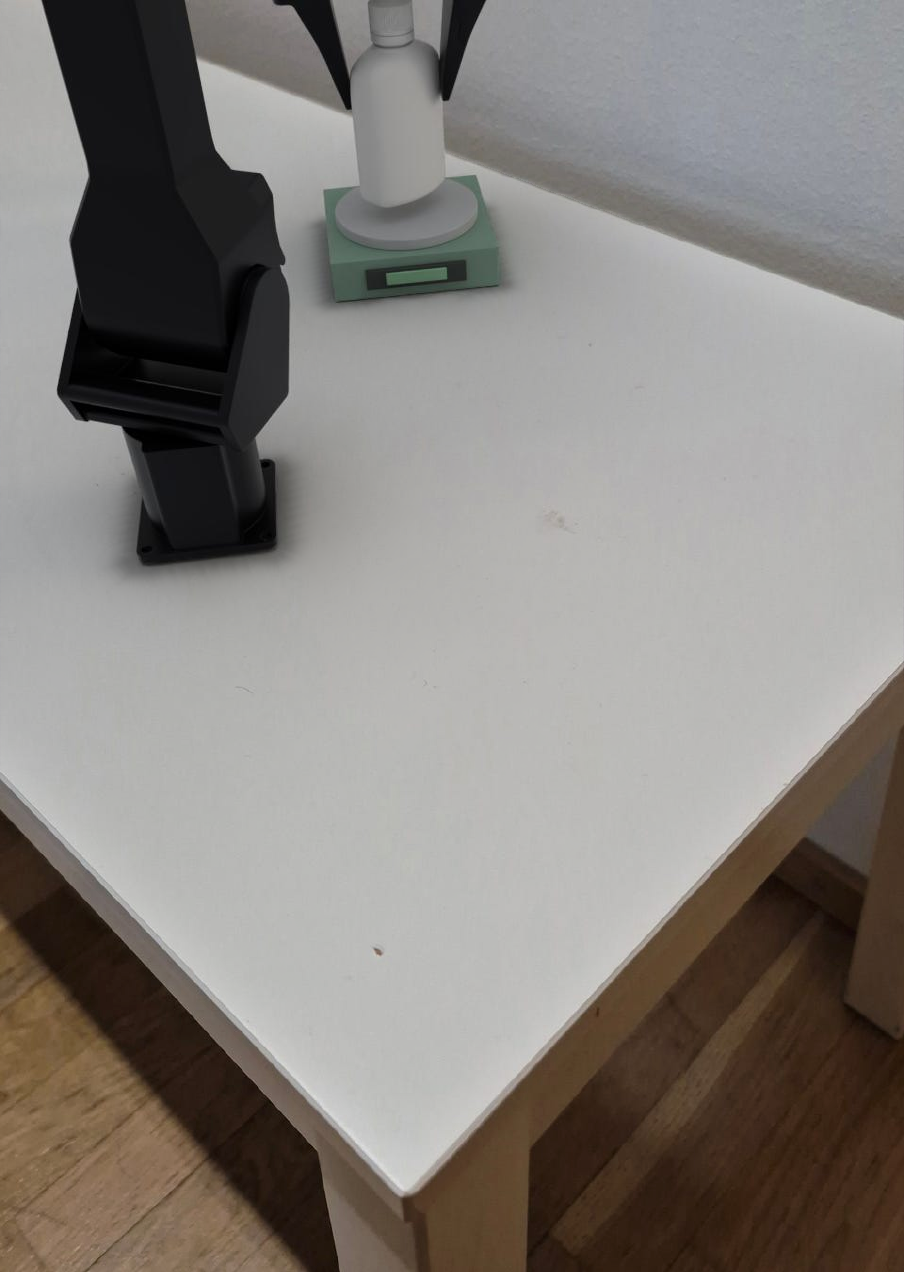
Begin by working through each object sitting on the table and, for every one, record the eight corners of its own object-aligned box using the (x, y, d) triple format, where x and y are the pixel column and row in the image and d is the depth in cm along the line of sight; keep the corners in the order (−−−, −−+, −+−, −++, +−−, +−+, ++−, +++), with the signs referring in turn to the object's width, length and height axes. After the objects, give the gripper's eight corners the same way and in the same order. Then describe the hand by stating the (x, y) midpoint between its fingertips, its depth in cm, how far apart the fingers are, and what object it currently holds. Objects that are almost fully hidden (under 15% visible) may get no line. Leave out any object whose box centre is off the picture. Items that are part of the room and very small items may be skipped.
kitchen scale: (500, 289, 70) (499, 239, 68) (335, 306, 70) (329, 256, 67) (477, 211, 78) (475, 163, 75) (327, 225, 77) (321, 178, 75)
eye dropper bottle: (351, 183, 72) (327, -33, 63) (438, 168, 73) (426, -46, 64) (368, 213, 69) (345, -9, 60) (458, 197, 70) (449, -24, 61)
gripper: (536, -272, 62) (534, 40, 73) (184, -245, 61) (237, 67, 72) (576, -234, 54) (567, 108, 65) (174, -203, 53) (234, 139, 64)
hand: (397, 102), depth 67 cm, fingers closed on eye dropper bottle, 5 cm apart
